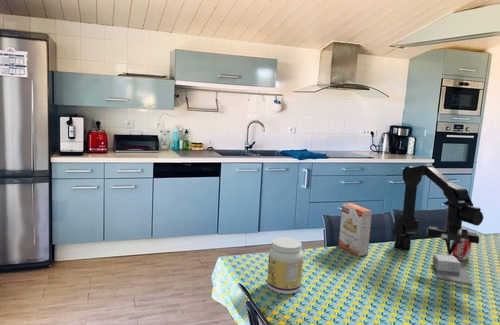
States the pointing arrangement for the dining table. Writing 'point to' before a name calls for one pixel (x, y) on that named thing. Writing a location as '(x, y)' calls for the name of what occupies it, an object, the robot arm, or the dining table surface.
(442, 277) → the grey mat
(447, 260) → the medicine box
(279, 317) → the dining table surface
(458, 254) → the soda can
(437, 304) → the dining table surface
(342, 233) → the cracker box
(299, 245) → the supplement tub
